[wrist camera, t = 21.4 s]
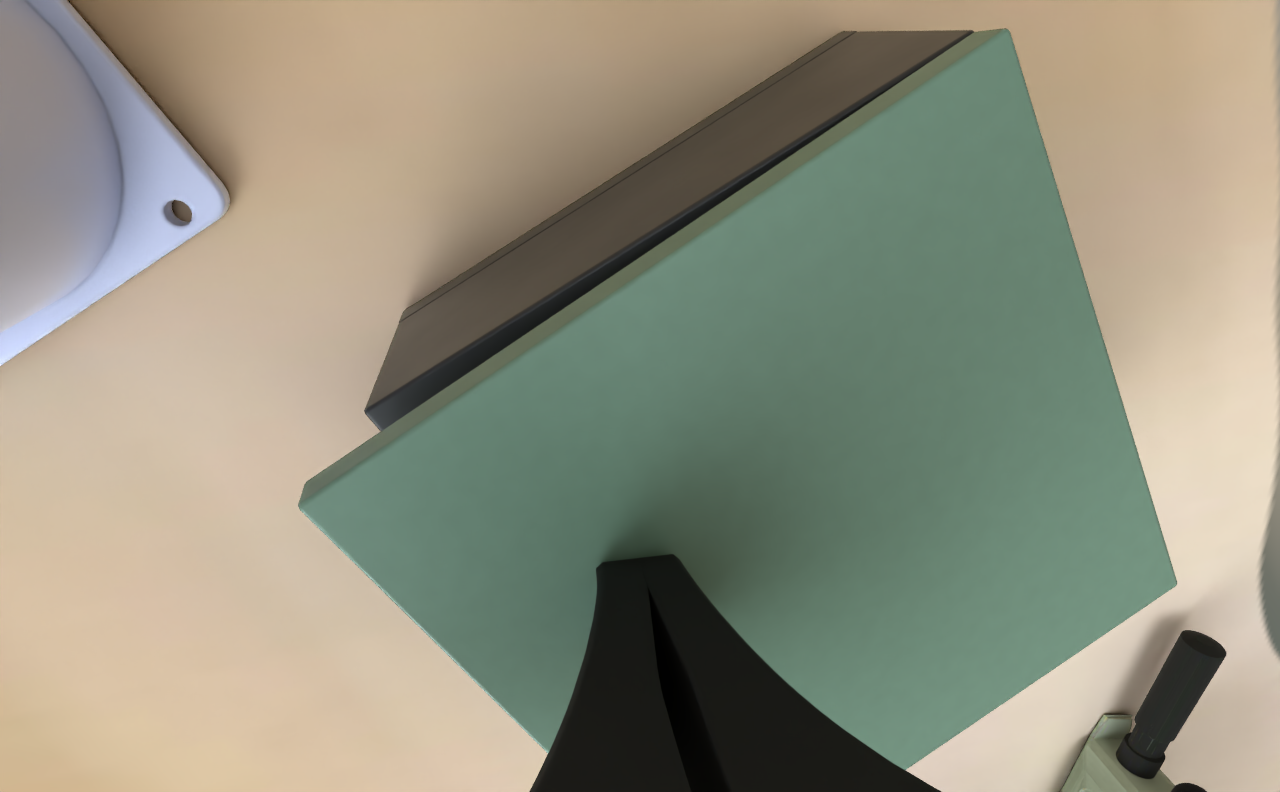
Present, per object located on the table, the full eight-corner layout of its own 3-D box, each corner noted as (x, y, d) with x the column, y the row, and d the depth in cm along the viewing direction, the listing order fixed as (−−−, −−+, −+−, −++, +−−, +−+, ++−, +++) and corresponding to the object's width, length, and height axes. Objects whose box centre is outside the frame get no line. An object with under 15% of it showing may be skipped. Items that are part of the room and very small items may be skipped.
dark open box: (666, 642, 23) (706, 798, 18) (402, 311, 18) (361, 412, 13) (1011, 448, 22) (1148, 561, 17) (843, 30, 17) (976, 27, 12)
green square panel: (692, 874, 17) (704, 909, 16) (302, 482, 12) (294, 507, 11) (1148, 564, 17) (1180, 585, 16) (974, 29, 12) (1010, 25, 11)
